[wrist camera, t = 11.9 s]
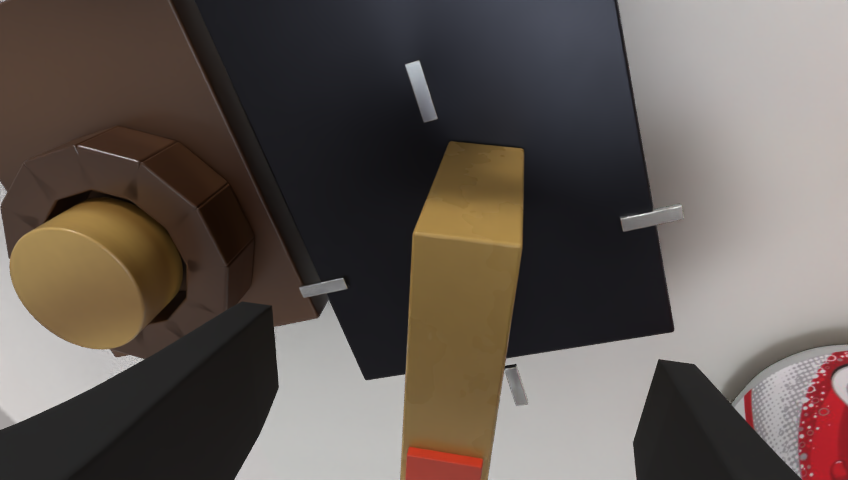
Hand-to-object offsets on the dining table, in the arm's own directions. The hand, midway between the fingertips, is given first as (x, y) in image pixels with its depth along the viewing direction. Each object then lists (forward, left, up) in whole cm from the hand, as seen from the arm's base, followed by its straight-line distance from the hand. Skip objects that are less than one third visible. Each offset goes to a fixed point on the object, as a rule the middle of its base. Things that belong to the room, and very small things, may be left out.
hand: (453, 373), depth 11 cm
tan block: (0, 0, -5) cm, 5 cm away
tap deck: (-4, 0, -8) cm, 9 cm away
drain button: (-3, -9, -4) cm, 11 cm away
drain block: (-4, -9, -8) cm, 13 cm away
